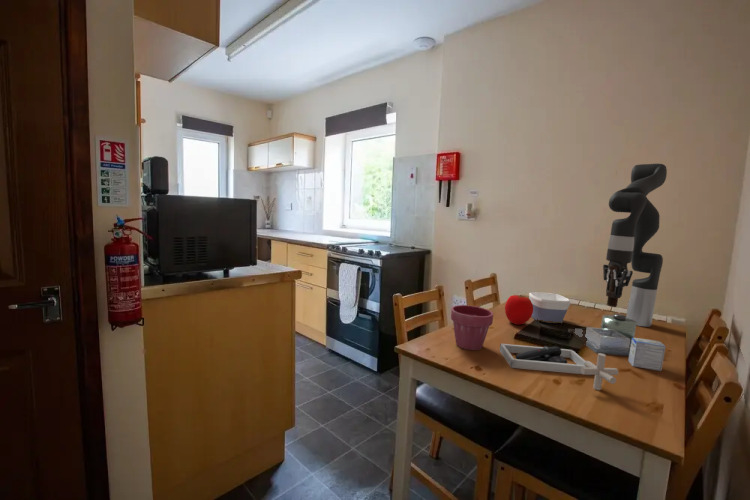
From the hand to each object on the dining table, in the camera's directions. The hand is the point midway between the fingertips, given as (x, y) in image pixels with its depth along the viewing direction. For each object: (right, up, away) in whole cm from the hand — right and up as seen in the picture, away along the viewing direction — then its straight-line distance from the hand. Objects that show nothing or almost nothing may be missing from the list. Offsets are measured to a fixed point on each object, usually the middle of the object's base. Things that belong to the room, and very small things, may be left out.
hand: (613, 294), depth 127 cm
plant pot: (-54, -18, -4) cm, 57 cm away
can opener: (-35, -21, -16) cm, 43 cm away
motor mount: (+3, -20, +6) cm, 21 cm away
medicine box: (+1, -22, -13) cm, 26 cm away
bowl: (-9, -16, +32) cm, 37 cm away
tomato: (-26, -16, +24) cm, 39 cm away
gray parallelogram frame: (-33, -20, -14) cm, 41 cm away
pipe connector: (-25, -23, -30) cm, 45 cm away
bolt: (0, -4, +1) cm, 4 cm away
